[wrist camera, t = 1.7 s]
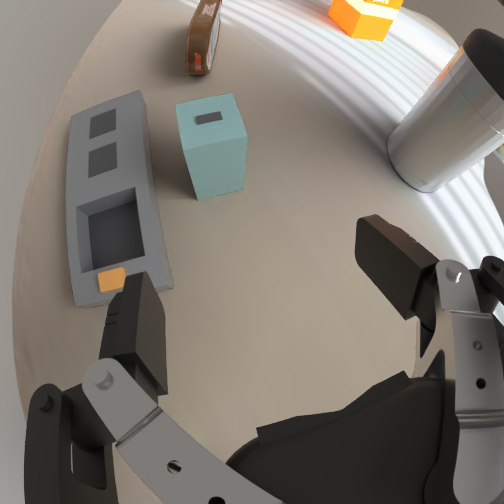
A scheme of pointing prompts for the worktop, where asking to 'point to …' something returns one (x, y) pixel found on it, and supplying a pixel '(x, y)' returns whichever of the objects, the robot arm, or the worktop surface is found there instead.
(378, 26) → the orange juice
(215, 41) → the tin
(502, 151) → the coffee box
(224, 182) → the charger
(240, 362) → the worktop surface
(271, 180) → the worktop surface
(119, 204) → the power strip
